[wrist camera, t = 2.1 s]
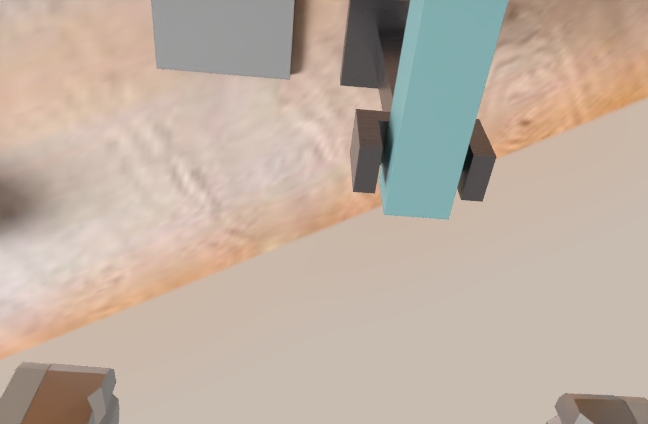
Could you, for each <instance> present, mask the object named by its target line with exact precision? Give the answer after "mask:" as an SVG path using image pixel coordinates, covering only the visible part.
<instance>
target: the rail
mask: <svg viewBox="0 0 648 424" xmlns="http://www.w3.org/2000/svg"><path fill="white" fill-rule="evenodd" d="M507 4H508V0H410V5H409V10H408V16H407V22H406V27H405V33H404V39H403V44H402V50H401V56H400V62H399V67H398V73H397V79H396V84H395V90H394V96H393V101H392V107H391V113H390V118H389V124H388V130H387V135H386V141H385V147H384V153H383V158H382V164H381V170H380V175H379V183H380V190H381V197H382V205H383V212H384V215H394V216H408V217H409V216H410V217H422V218H435V219H449V216H450V212H451V209H452V205H453V201H454V197H455V194H456V190H457V187H458V183H459V179H460V176H461V172H462V168H463V165H464V161H465V157H466V154H467V150H468V146H469V143H470V139H471V135H472V132H473V128H474V125H475V121H476V117H477V114H478V110H479V106H480V103H481V99H482V95H483V92H484V88H485V84H486V81H487V77H488V73H489V70H490V66H491V62H492V59H493V55H494V51H495V48H496V44H497V41H498V37H499V33H500V30H501V26H502V22H503V19H504V15H505V11H506V8H507Z"/></svg>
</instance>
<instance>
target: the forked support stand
mask: <svg viewBox="0 0 648 424" xmlns="http://www.w3.org/2000/svg"><path fill="white" fill-rule="evenodd" d="M409 5H410V0H349V7H348V15H347V24H346V33H345V41H344V50H343V59H342V67H341V76H340V85H343V86H355V87H367V88H378V89H379V93H380V99H381V104H382V110H383V111H373V110H361V109H356V113H355V120H354V128H353V135H352V142H351V150H350V157H351V171H352V185H353V192H363V193H375V189H376V184H377V178H378V172H379V166H380V165H381V164H382V158H383V153H384V147H385V141H386V135H387V130H388V124H389V118H390V113H391V107H392V101H393V96H394V90H395V84H396V79H397V73H398V67H399V62H400V56H401V50H402V44H403V39H404V33H405V27H406V22H407V16H408V10H409ZM495 159H496V155H495V153H494V151H493V148H492V146H491V144H490V142H489V140H488V138H487V135H486V133H485V131H484V129H483V127H482V125H481V122H480V120H479V119H476V121H475V125H474V128H473V132H472V135H471V139H470V143H469V146H468V150H467V154H466V157H465V161H464V165H463V168H462V172H461V176H460V179H459V183H458V187H457V189H458V192H459V195H460V198H461V200H470V201H483V198H484V194H485V192H486V188H487V185H488V182H489V179H490V176H491V172H492V169H493V166H494V163H495Z"/></svg>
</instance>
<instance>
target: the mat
mask: <svg viewBox="0 0 648 424" xmlns="http://www.w3.org/2000/svg"><path fill="white" fill-rule="evenodd" d="M294 3H295V0H151V5H152V17H153V29H154V41H155V53H156V65H157V68H158V69H169V70H181V71H193V72H205V73H216V74H228V75H240V76H252V77H263V78H275V79H287V80H290V69H291V53H292V36H293V20H294Z"/></svg>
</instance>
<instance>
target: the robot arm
mask: <svg viewBox="0 0 648 424" xmlns="http://www.w3.org/2000/svg"><path fill="white" fill-rule="evenodd" d="M115 384H116V378H115V372H114V369H111V368H100V367H88V366H75V365H64V364H48V363H34V362H23V363H21V364H20V365H19V366H18V367H17V368H16V369H15V371H14V373H13V375H12V376H11V378H10V380H9V382H8V384H7V386H6V387H5V389H4V391H3V393H2V395H1V396H0V424H118V423H119V401H118V398H116V396H114V395H113V394H112V393H113V390H114V387H115ZM555 408H556V411H557V413H558V415H557V416H555V417H554V418H552V419H550V420H549V421H547V423H546V424H648V400H647V399H646V398H641V397H624V396H613V395H591V394H568V393H565V394H564V395H562V396H561V397H559V399H558V401H557V403H556V405H555Z"/></svg>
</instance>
